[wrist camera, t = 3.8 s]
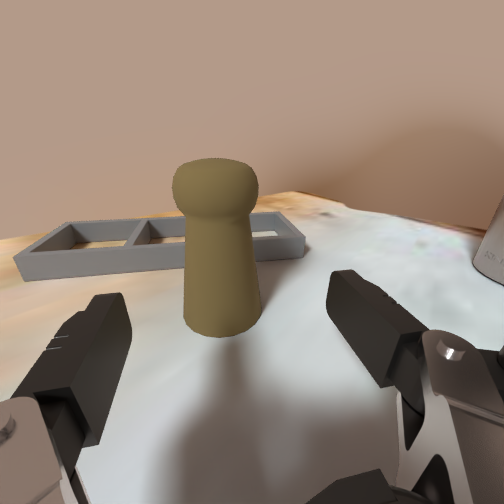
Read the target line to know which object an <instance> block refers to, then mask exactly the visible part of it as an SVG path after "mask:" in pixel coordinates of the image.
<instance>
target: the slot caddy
mask: <svg viewBox="0 0 504 504" xmlns="http://www.w3.org/2000/svg"><path fill="white" fill-rule="evenodd" d="M249 217H250V225H251V232H257V231H273V230H275V232H276V233H277V234H278V235H279V236H266V237H252V240H253V248H254V255H255V262H256V261H267V260H279V259H291V258H302V257H303V255H304V246H305V236H304V235H303V234H302V233H301V232H300V231H299V230H298V229H297V228H296V227H295V226H294V225H293V224H292V223H291V222H290V221H289V220H288V219H286V218H285V217H284V216H283V215H282V214H281V213H280V212H261V213H250V214H249ZM185 222H186V217H185V216H180V217H159V218H139V219H118V220H99V221H79V222H78V221H77V222H65V223H64V224H62V225H61V226H59V227H58V228H56V229H55V230H53V231H52V232H50V233H49V234H47V235H46V236H44V237H43V238H41V239H40V240H38V241H36V242H35V243H33V244H32V245H30V246H29V247H27V248H26V249H24V250H23V251H21V252H20V253H18V254H17V255H15V256H14V257H13V259H14V261H15V263H16V265H17V267H18V269H19V272H20V274H21V276H22V278H23V280H24V281H35V280H46V279H58V278H70V277H81V276H93V275H104V274H116V273H128V272H139V271H151V270H163V269H174V268H185V242H177V243H163V244H149V242H150V240H151V238H162V237H178V236H185ZM114 240H127V242H126V243H125V245H124V246H118V247H103V248H88V249H74V250H69V249H70V248H71V247H73V246H74V245H75V244H76V243H83V242H99V241H114Z"/></svg>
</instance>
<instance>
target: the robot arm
mask: <svg viewBox="0 0 504 504" xmlns="http://www.w3.org/2000/svg"><path fill="white" fill-rule="evenodd" d="M473 264H474V266H475V267H476V268H477V269H478V270H479V271H480V272H482V273H483V274H484V275H486V276H488V277H489V278H491V279H493V280H495V281H497V282H499V283H501V284H504V195H503V197H502V200H501V202H500V204H499V207H498V208H497V210H496V213H495V215H494V217H493V219H492V222H491V224H490V226H489V228H488V230H487V232H486V234H485V236H484V238H483V240H482V243H481V245H480V247H479V249H478V251H477V253H476V256H475V258H474V260H473ZM326 309H327V313H328V315H329V317H330V319H331V320H332V321H333V323H334V324H335V325H336V327H337V328H338V330H339V331H340V332H341V334H342V335H343V337H344V338H345V339H346V341H347V342H348V344H349V345H350V346H351V348H352V349H353V351H354V352H355V353H356V355H357V356H358V358H359V359H360V360H361V362H362V363H363V364H364V366H365V367H366V369H367V370H368V371H369V373H370V374H371V376H372V377H373V378H374V380H375V381H376V383H377V384H378V385H379V387H380V388H385V387H389V386H394V385H395V387H396V388H397V389H398V390H399V391H398V394H397V398H396V401H397V419H398V437H399V467H398V471H397V477H396V486H392V485H388V483H387V481H386V479H385V478H384V476H383V474H382V472H381V470H380V469H376V470H372V471H369V472H365V473H361V474H358V475H354V476H350V477H347V478H343V479H339V480H336V481H335V482H333V483H332V484H331V485H329V486H328V487H327V488H325V489H324V490H323V491H321V492H320V493H319V494H317V495H316V496H315V497H313V498H312V499H311V500H310V501H308V502H307V503H306V504H504V346H503V347H502V349H501V350H500V351H492V350H483V349H476V348H475V347H474V346H473V345H472V344H471V343H469V342H468V341H466V340H465V339H463V338H461V337H459V336H457V335H455V334H452V333H449V332H446V331H442V330H429V329H428V328H427V327H426V326H425V325H423V324H422V323H421V322H420V321H419V320H418V319H416V318H415V317H414V316H413V315H412V314H410V313H409V312H408V311H407V310H406V309H404V308H403V307H402V306H401V305H400V304H397V302H396V301H395V300H394V299H393V298H391V297H389V296H388V294H387V293H386V292H384V291H383V290H382V289H381V288H380V287H378V286H376V285H375V284H373V283H371V282H369V281H367V280H364V279H363V278H362V277H361V276H360V275H359V274H357V273H356V272H355V271H354V270H351V269H350V270H340V271H333V272H332V274H331V276H330V282H329V287H328V293H327V299H326ZM131 341H132V327H131V323H130V319H129V316H128V312H127V308H126V305H125V301H124V298H123V295H122V294H121V293H109V294H99V295H95V296H94V297H93V299H92V300H91V302H90V303H89V305H88V306H87V308H86V309H85V311H79V312H77V313H76V314H74V315H73V316H72V317H71V318H69V319H68V320H67V321H66V322H64V323H63V325H62V326H61V327H60V329H59V330H58V332H57V333H56V334H55V336H54V339H52V340H51V341H50V343H49V344H48V346H47V347H46V351H43V353H42V354H41V355H40V357H39V358H38V360H37V361H36V363H35V364H34V365H33V367H32V368H31V370H30V371H29V372H28V374H27V375H26V377H25V378H24V379H23V381H22V382H21V384H20V385H19V386H18V388H17V389H16V391H15V392H14V393H13V395H12V396H11V398H10V399H8V400H5V401H3V402H0V504H91V502H90V499H89V496H88V494H87V491H86V489H85V486H84V484H83V481H82V479H81V476H80V473H79V471H78V468H77V467H76V463H77V460H78V457H79V455H80V452H81V449H82V448H85V447H90V446H95V445H99V442H100V439H101V436H102V433H103V430H104V427H105V424H106V420H107V417H108V414H109V411H110V408H111V405H112V402H113V398H114V395H115V392H116V389H117V386H118V383H119V380H120V377H121V373H122V370H123V367H124V364H125V361H126V358H127V355H128V351H129V348H130V345H131Z"/></svg>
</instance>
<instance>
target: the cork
mask: <svg viewBox="0 0 504 504" xmlns="http://www.w3.org/2000/svg"><path fill="white" fill-rule="evenodd" d="M172 191H173V197H174V200H175V203H176V205H177V208H178V209H179V210H180V211H181V212H182V213H183V214H184V215H185V217H186V222H185V269H184V316H183V317H184V319H185V322H186V324H187V326H189V327H190V328H191V329H192V330H193V331H194V332H196V333H199V334H201V335H204V336H208V337H217V338H221V337H229V336H234V335H237V334H240V333H242V332H245V331H246V330H248V329H249V328H251V327H252V326H253V325H255V323H256V322H257V320H258V319H259V317H260V314H261V302H260V294H259V286H258V279H257V271H256V263H255V255H254V248H253V240H252V232H251V225H250V217H249V214H250V213H251V211H252V210H253V209H254V207H255V205H256V201H257V198H258V181H257V177H256V175H255V173H254V171H253V169H252V168H251V167H250V166H248V165H247V164H245V163H242V162H239V161H235V160H230V159H221V158H220V159H219V158H208V159H200V160H195V161H192V162H189V163H185V164H183V165H181V166H180V167H179V168H178V169H177V171H176V173H175V175H174V177H173V184H172Z"/></svg>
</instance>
